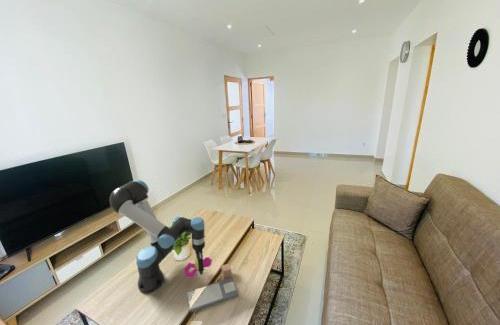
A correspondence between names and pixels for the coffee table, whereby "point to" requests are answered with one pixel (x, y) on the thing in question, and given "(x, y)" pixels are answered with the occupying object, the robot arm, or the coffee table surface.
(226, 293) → the foundation slab
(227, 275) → the terracotta block
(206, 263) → the toy
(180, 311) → the coffee table surface
